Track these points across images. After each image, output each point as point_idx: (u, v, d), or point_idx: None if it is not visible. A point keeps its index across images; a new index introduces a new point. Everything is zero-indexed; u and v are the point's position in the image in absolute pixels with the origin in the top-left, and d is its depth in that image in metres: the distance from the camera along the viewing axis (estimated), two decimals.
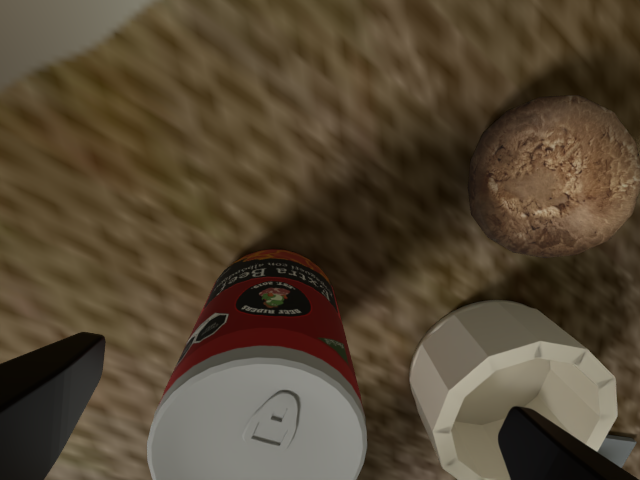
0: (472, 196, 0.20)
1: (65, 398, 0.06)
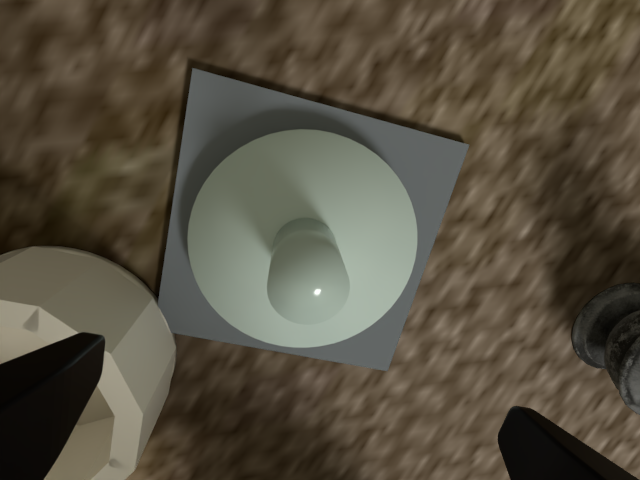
0: None
1: (65, 398, 0.06)
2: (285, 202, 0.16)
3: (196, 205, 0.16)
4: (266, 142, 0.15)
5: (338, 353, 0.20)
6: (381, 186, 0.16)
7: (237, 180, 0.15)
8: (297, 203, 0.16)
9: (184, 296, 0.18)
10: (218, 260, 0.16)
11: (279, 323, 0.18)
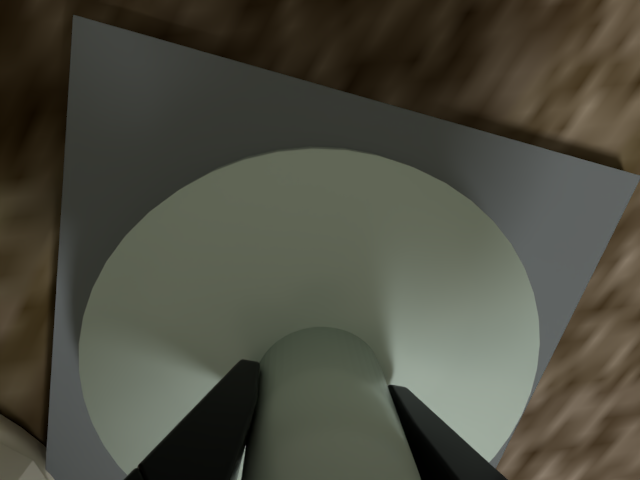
0: None
1: (249, 425, 0.07)
2: (279, 298, 0.08)
3: (91, 308, 0.07)
4: (236, 178, 0.07)
5: None
6: (477, 264, 0.08)
7: (176, 258, 0.07)
8: (304, 301, 0.08)
9: (94, 453, 0.10)
10: (147, 408, 0.08)
11: None
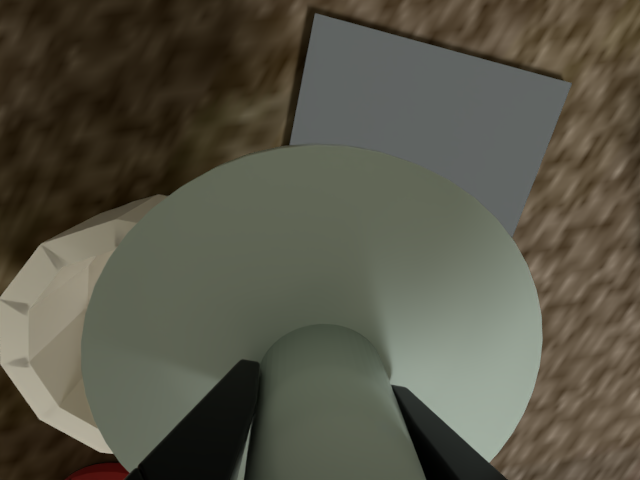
0: None
1: (249, 425, 0.07)
2: (282, 295, 0.08)
3: (93, 305, 0.07)
4: (239, 175, 0.07)
5: None
6: (479, 262, 0.08)
7: (179, 255, 0.07)
8: (306, 297, 0.08)
9: None
10: (149, 406, 0.08)
11: None
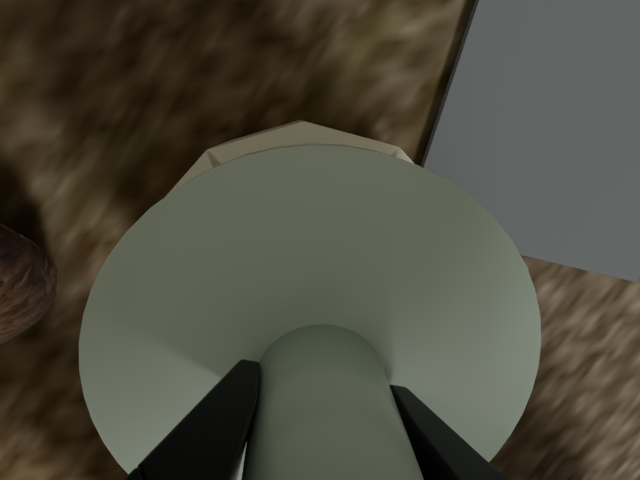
0: None
1: (249, 425, 0.07)
2: (280, 295, 0.08)
3: (91, 306, 0.07)
4: (237, 175, 0.07)
5: (591, 260, 0.18)
6: (478, 262, 0.08)
7: (176, 255, 0.07)
8: (305, 297, 0.08)
9: None
10: (147, 406, 0.08)
11: None
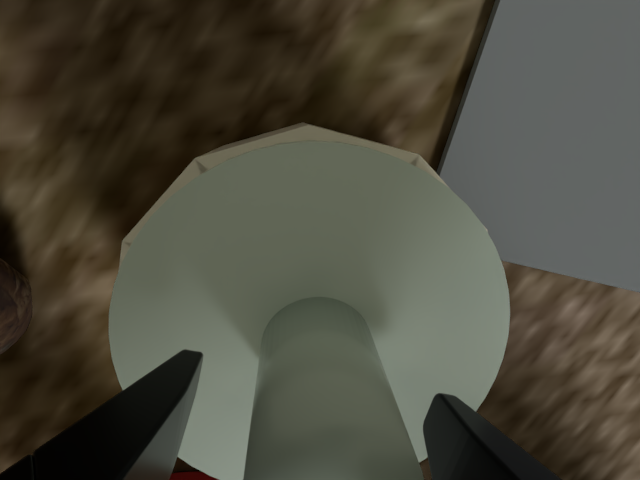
0: None
1: (183, 415, 0.06)
2: (282, 271, 0.09)
3: (120, 279, 0.09)
4: (246, 167, 0.08)
5: (621, 275, 0.16)
6: (453, 242, 0.09)
7: (194, 235, 0.08)
8: (304, 273, 0.09)
9: (462, 197, 0.14)
10: None
11: None
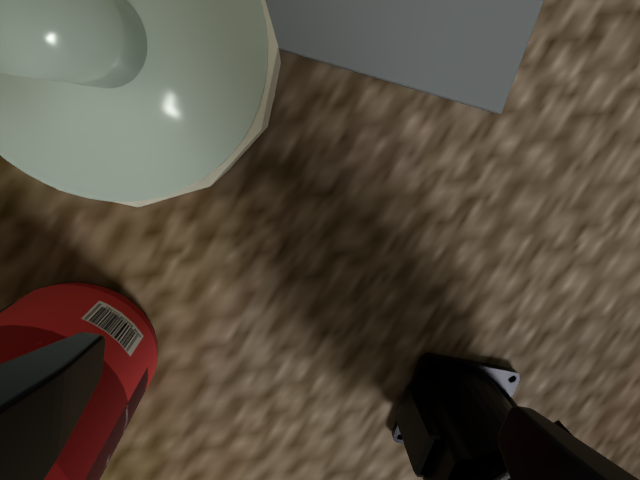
0: None
1: (64, 398, 0.06)
2: None
3: None
4: None
5: (451, 86, 0.18)
6: None
7: None
8: None
9: None
10: None
11: (80, 162, 0.12)
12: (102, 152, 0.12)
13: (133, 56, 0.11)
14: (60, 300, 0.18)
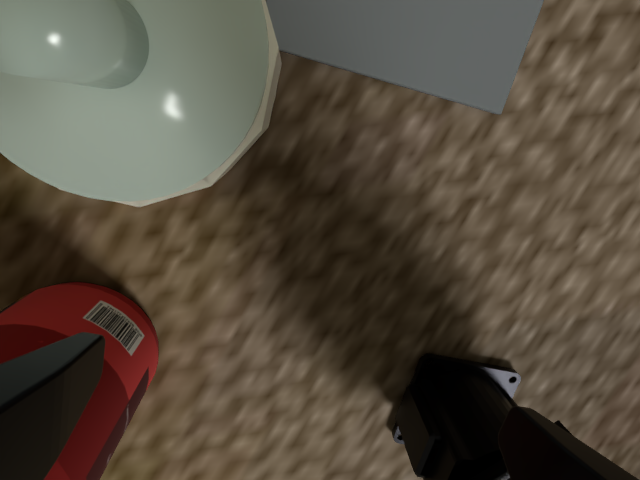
0: None
1: (65, 398, 0.06)
2: None
3: None
4: None
5: (451, 87, 0.18)
6: None
7: None
8: None
9: None
10: None
11: (82, 161, 0.13)
12: (104, 152, 0.13)
13: (135, 57, 0.11)
14: (61, 299, 0.18)
